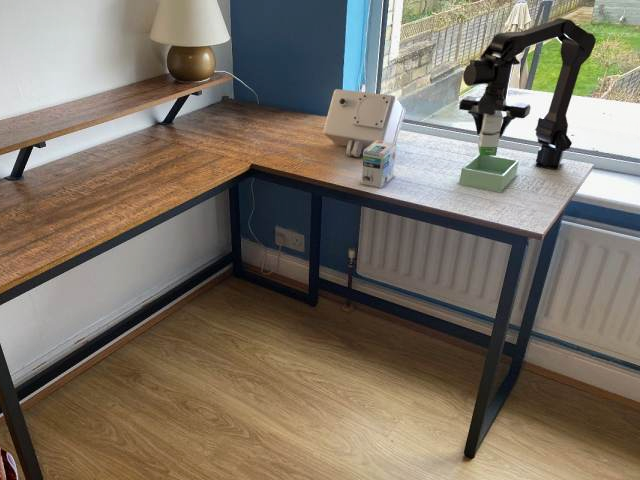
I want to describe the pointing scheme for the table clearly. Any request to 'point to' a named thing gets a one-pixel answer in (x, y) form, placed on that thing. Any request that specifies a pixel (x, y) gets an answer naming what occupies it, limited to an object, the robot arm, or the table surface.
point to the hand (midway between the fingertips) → (489, 135)
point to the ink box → (490, 134)
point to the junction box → (363, 119)
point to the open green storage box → (489, 172)
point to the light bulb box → (378, 163)
